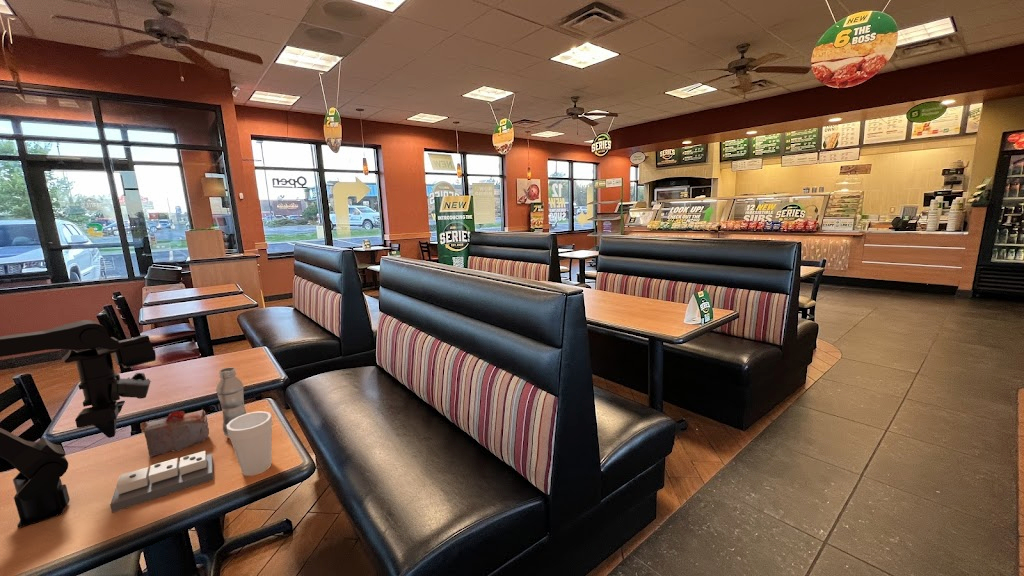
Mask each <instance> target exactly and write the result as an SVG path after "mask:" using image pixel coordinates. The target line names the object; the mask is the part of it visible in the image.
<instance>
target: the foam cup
mask: <svg viewBox="0 0 1024 576" xmlns="http://www.w3.org/2000/svg"><path fill="white" fill-rule="evenodd" d="M273 423H274V422H273V417H272V414H271V413H270V412H268V411H264V410H263V411H261V410H260V411H252V412H246V414H244V415H241V416H238V417H236V418H235V419H233V420H231V421H230V422H229V423H228V424H227V425H226V426H227V432H228V436H229V437H228V439H230V443H231V444H232V447H233V451H234V453H235V456H236V459H237V462H238V465H239V467H240V469H241V473H242V475H244V476H247V477H250V476H252V477H253V476H256V475H260V474H262V473H264V472H266V471H267V470H268V469H269V468H271V465H272V458H273V457H272V453H273V452H272V450H273V449H272V446H273V445H272V444H273V443H272V441H273V436H272V435H273V433H272V432H273Z"/></svg>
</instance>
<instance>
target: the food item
mask: <svg viewBox="0 0 1024 576" xmlns="http://www.w3.org/2000/svg"><path fill="white" fill-rule="evenodd" d="M143 431H144V437H145V441H146V445H147V450H148V456H149V458H151V457H155V456H157V455H162V454H166V453H169V452H180V451H181V450H184V449H186V448H187V447H191V446H195V445H198V444H201V443H204V442H205V441H207V439H208V438H209V434H210V428H209V422H208V416H207V414H206V411H205V410H204V409H201V410H197V411H193V412H187V413H185V411H183V410H180V411H176V410H175V411H173V412H170V413H169V414H167V417H164V418H162V419H158V420H157V419H156V420H153V421H149V422H148V423H146V424H145V425H144V430H143ZM179 450H180V451H179Z"/></svg>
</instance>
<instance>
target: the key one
mask: <svg viewBox="0 0 1024 576" xmlns="http://www.w3.org/2000/svg"><path fill="white" fill-rule="evenodd" d="M149 472H150V468H149V466H148V467H147V466H146V467H143V468H140V469H137V470H132V471H130V472H126V473H122V474H120V475H119V476H118V477H119V478H118V480H117V484H116V486H115V489H116V488H117V492H118V494H121V493H125V492H128V491H131V490H134V489H138V488H141V487H144V486H147V485H148V481H149Z"/></svg>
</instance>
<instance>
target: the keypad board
mask: <svg viewBox="0 0 1024 576" xmlns="http://www.w3.org/2000/svg"><path fill="white" fill-rule="evenodd" d="M206 457H207V467H206V468H202V469H199V470H196V471H193V472H189V473H186V474H183V475H181V474H180V469H179V470H178V475H177V476H174V477H171V478H167V479H164V480H161V481H158V482H154V483H151V484H150V481H148V485H147V486H144V487H141V488H138V489H134V490H131V491H128V492H125V493H121V494H118V492H117V488H116V487H115V489H114V492H113V495H112V498H111V501H110V504H109V505H110V509H111V513H112V514H114V513H116V512H119V511H123V510H125V509H128V508H130V507H131V508H132V507H134V506H137V505H140V504H143V503H146V502H149V501H153V500H155V499H158V498H161V497H165V496H168V495H171V494H174V493H178V492H181V491H183V490H186V489H190V488H193V487H196V486H199V485H201V484H202V485H203V484H205V483H209V482H211V481H214V458H213V453H208V454H206ZM179 465H180V462H179Z"/></svg>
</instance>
